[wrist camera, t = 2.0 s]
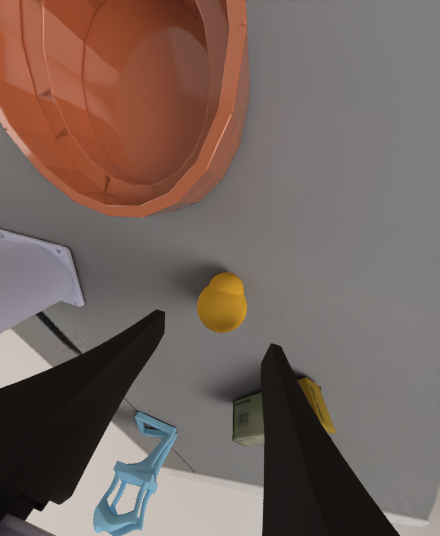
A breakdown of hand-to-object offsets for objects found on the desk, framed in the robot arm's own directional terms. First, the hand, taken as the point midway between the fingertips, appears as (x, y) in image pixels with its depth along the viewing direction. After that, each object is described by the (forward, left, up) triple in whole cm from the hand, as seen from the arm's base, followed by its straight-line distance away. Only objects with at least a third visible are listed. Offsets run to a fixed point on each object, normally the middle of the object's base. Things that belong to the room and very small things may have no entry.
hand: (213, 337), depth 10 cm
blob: (0, 0, -5) cm, 5 cm away
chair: (-7, -37, -6) cm, 38 cm away
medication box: (+9, -14, -6) cm, 17 cm away
